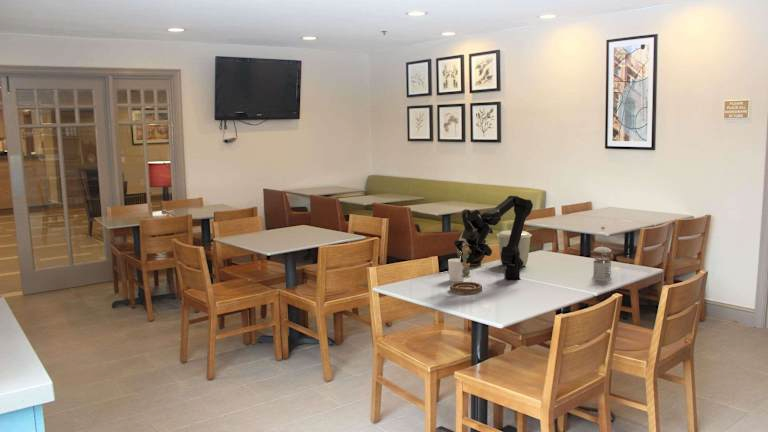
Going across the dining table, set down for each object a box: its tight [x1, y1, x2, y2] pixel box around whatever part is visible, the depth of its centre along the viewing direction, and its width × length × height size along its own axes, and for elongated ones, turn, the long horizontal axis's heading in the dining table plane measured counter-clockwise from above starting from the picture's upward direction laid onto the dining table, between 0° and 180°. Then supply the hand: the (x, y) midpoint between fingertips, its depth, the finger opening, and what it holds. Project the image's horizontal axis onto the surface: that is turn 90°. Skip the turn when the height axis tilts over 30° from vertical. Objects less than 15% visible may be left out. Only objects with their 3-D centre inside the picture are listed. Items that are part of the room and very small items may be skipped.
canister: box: [496, 225, 533, 267], centre depth 350 cm, size 18×18×21 cm
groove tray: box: [449, 281, 483, 295], centre depth 300 cm, size 14×14×2 cm
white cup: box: [447, 257, 465, 283], centre depth 320 cm, size 8×8×10 cm
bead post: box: [462, 245, 471, 279], centre depth 298 cm, size 4×4×14 cm
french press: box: [591, 226, 614, 282], centre depth 317 cm, size 10×12×25 cm
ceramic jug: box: [456, 208, 486, 266], centre depth 355 cm, size 17×15×30 cm
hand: (463, 262), depth 298 cm, fingers closed on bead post, 3 cm apart
